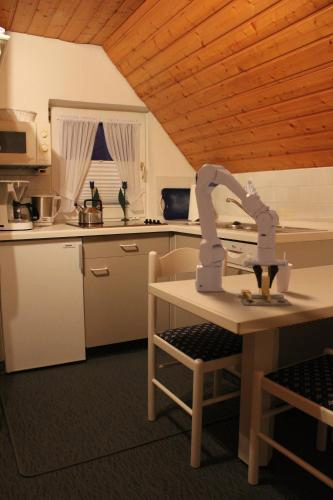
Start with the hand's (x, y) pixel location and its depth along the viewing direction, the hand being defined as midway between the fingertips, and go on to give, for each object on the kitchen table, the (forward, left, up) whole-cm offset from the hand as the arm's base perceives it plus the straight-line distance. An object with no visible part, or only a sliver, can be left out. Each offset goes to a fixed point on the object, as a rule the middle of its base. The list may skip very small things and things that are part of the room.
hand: (264, 287), depth 139 cm
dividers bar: (-1, -3, -3) cm, 5 cm away
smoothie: (+9, +9, -4) cm, 14 cm away
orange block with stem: (0, -3, -3) cm, 4 cm away
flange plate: (-1, -7, -3) cm, 8 cm away
